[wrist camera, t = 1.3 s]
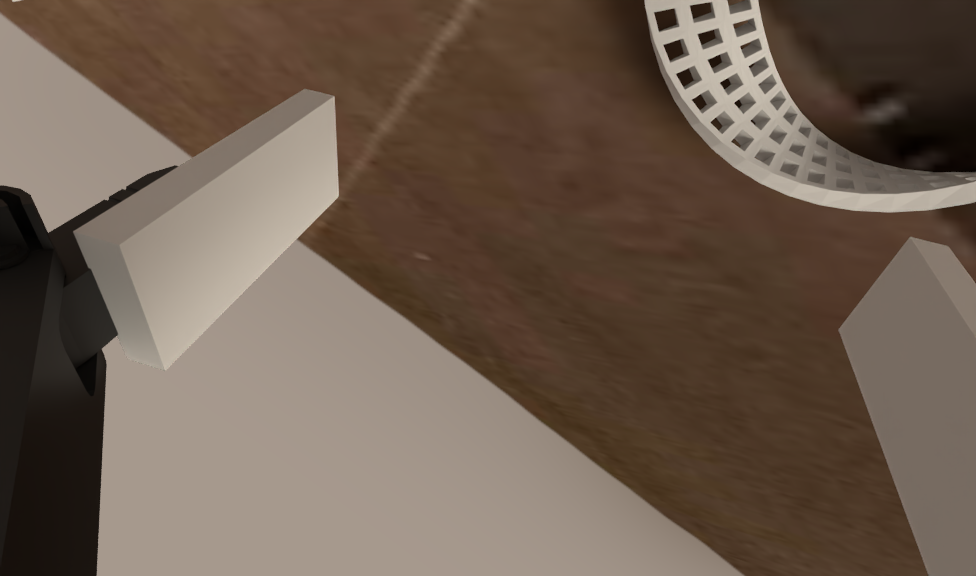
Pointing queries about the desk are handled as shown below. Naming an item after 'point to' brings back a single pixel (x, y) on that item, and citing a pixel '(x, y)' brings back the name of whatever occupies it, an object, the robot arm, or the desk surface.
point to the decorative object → (780, 120)
